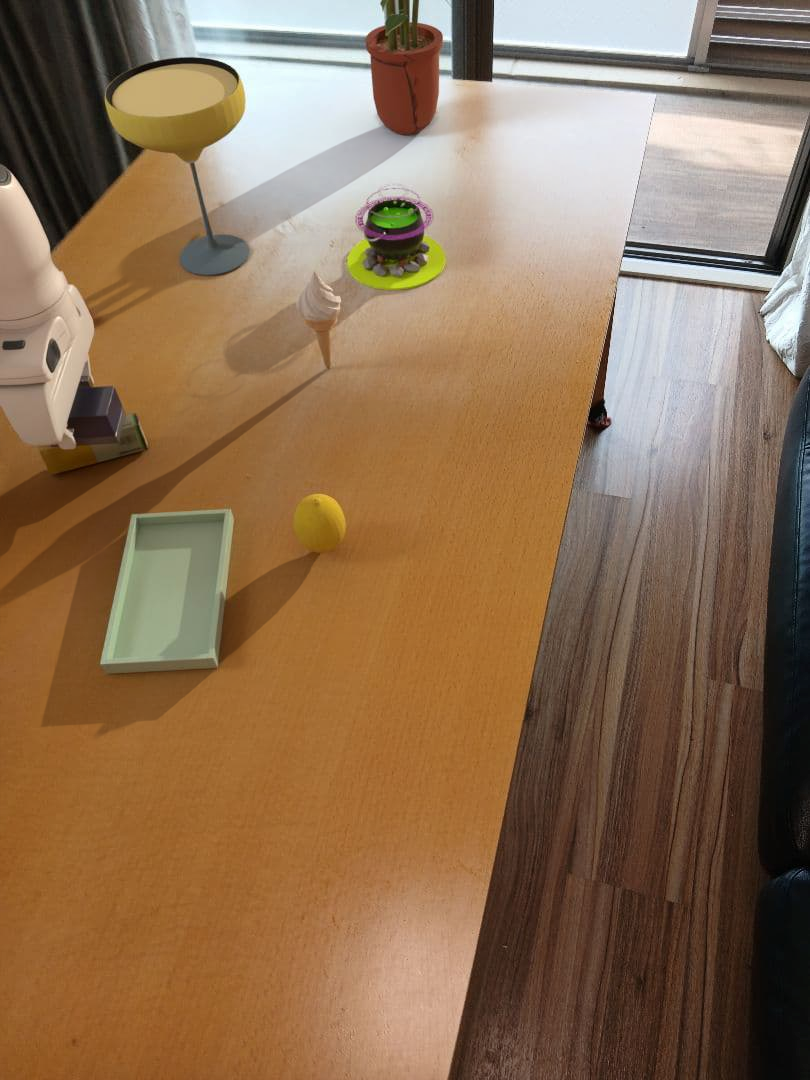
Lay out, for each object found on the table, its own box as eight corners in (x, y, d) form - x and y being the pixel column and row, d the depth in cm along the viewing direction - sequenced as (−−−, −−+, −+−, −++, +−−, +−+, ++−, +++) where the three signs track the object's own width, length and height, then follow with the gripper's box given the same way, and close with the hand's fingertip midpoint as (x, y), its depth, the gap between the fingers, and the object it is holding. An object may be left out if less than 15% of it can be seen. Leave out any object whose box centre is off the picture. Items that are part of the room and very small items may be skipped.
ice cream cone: (356, 361, 110) (345, 263, 98) (336, 387, 107) (323, 289, 95) (319, 350, 111) (305, 253, 99) (299, 376, 108) (282, 278, 96)
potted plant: (366, 114, 153) (349, -119, 125) (447, 104, 154) (448, -129, 126) (381, 160, 142) (366, -84, 114) (468, 149, 143) (474, -95, 116)
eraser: (50, 447, 95) (35, 419, 92) (60, 417, 98) (45, 389, 95) (119, 443, 95) (106, 415, 92) (126, 413, 98) (114, 385, 95)
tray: (106, 674, 82) (99, 664, 80) (136, 525, 93) (131, 514, 92) (217, 668, 82) (213, 658, 80) (234, 519, 93) (230, 508, 92)
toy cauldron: (367, 226, 130) (362, 158, 121) (458, 241, 126) (459, 172, 117) (331, 280, 121) (323, 211, 112) (427, 298, 118) (426, 228, 109)
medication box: (146, 437, 102) (137, 411, 99) (149, 449, 100) (140, 424, 97) (48, 463, 100) (35, 437, 97) (49, 477, 98) (37, 451, 95)
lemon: (289, 545, 91) (278, 498, 84) (329, 519, 93) (321, 471, 87) (318, 575, 88) (309, 529, 82) (358, 548, 90) (352, 501, 84)
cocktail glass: (147, 293, 121) (89, 121, 101) (165, 226, 132) (116, 59, 112) (269, 287, 120) (235, 114, 101) (276, 220, 132) (247, 52, 112)
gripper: (26, 260, 90) (70, 359, 101) (-26, 384, 78) (30, 481, 89) (83, 258, 90) (121, 356, 101) (40, 381, 78) (88, 478, 89)
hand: (78, 415), depth 95 cm, fingers open, 8 cm apart
